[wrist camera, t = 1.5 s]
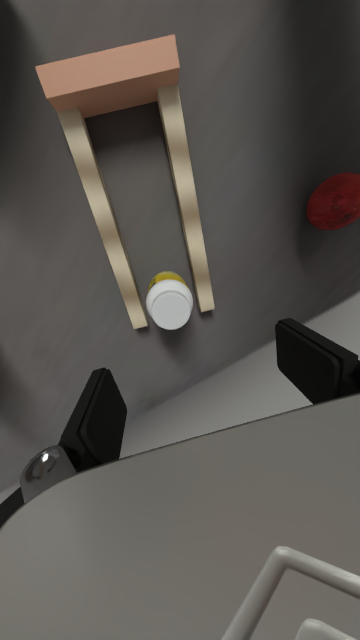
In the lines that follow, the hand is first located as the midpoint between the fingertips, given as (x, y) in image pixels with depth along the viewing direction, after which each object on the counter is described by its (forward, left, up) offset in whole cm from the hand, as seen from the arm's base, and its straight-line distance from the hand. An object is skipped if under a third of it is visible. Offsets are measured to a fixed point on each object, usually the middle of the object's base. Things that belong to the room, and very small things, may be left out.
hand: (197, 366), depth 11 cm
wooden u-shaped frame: (-9, -1, -20) cm, 22 cm away
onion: (-6, +21, -20) cm, 30 cm away
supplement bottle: (0, -1, -20) cm, 20 cm away
